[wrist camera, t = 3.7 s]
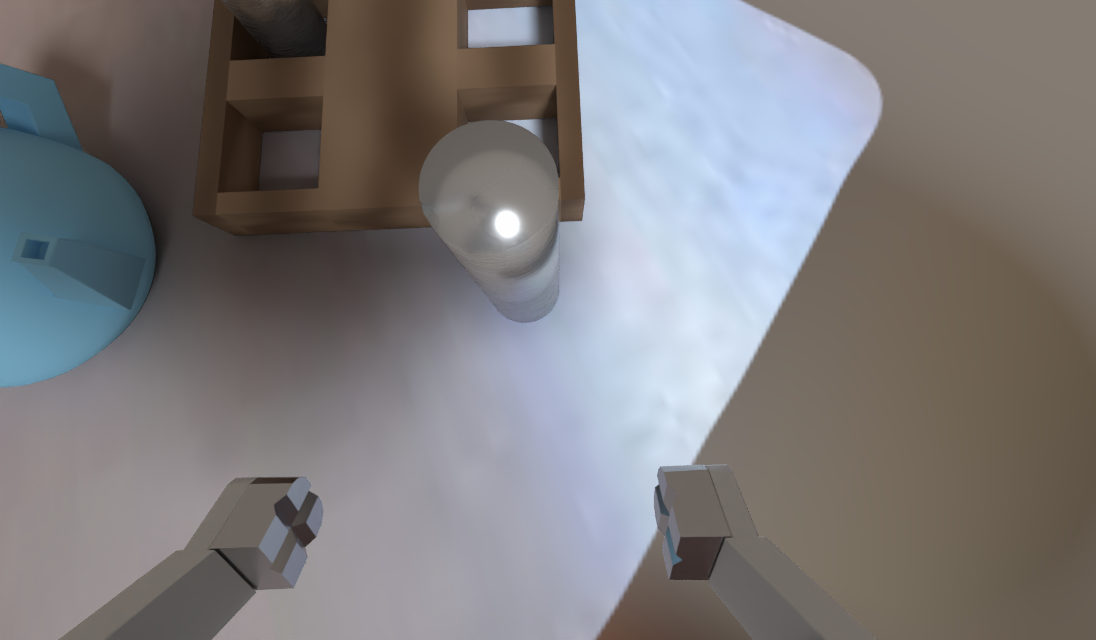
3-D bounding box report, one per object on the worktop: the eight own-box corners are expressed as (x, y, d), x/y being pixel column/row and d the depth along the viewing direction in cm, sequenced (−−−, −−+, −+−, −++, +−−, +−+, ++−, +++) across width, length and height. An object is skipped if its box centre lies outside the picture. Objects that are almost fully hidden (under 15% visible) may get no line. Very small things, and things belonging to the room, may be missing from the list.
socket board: (234, 235, 26) (192, 215, 23) (253, 4, 29) (218, -40, 26) (582, 220, 26) (584, 198, 23) (570, -13, 28) (571, -60, 25)
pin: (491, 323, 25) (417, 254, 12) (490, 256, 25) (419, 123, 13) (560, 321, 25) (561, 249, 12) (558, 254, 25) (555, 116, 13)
